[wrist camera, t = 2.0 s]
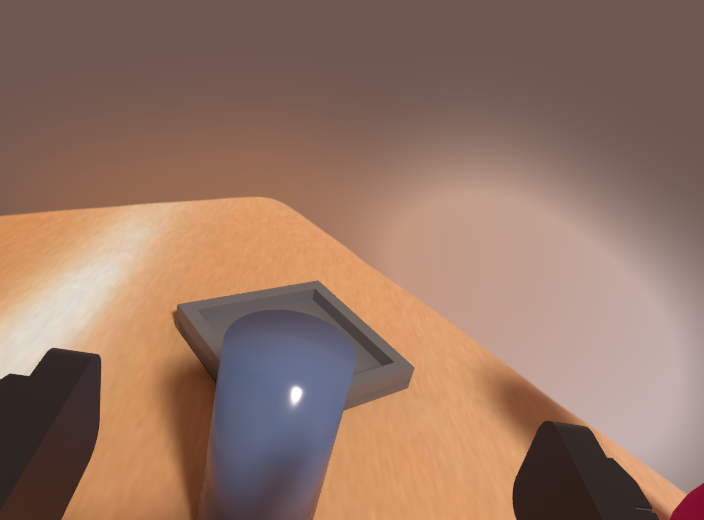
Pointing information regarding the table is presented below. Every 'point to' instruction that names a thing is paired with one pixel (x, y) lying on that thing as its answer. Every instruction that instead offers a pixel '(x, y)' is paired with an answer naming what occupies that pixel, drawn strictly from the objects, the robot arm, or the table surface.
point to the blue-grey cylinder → (274, 416)
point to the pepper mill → (691, 506)
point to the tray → (311, 298)
